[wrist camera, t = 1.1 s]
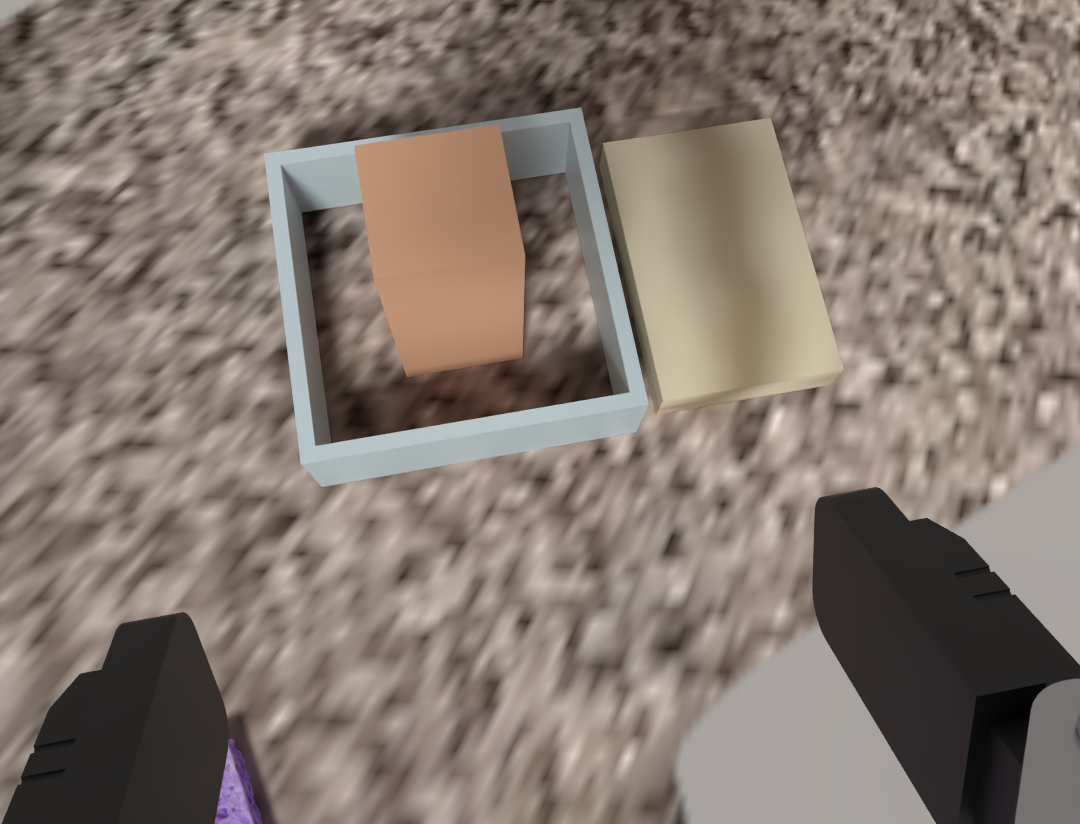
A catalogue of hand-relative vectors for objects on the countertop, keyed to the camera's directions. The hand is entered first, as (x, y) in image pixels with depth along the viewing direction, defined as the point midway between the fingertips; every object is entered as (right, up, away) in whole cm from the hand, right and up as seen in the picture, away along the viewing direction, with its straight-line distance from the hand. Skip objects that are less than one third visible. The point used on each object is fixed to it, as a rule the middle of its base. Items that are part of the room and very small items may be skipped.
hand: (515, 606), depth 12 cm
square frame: (-3, +7, +29) cm, 30 cm away
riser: (+8, +9, +30) cm, 32 cm away
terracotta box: (-3, +7, +29) cm, 30 cm away
